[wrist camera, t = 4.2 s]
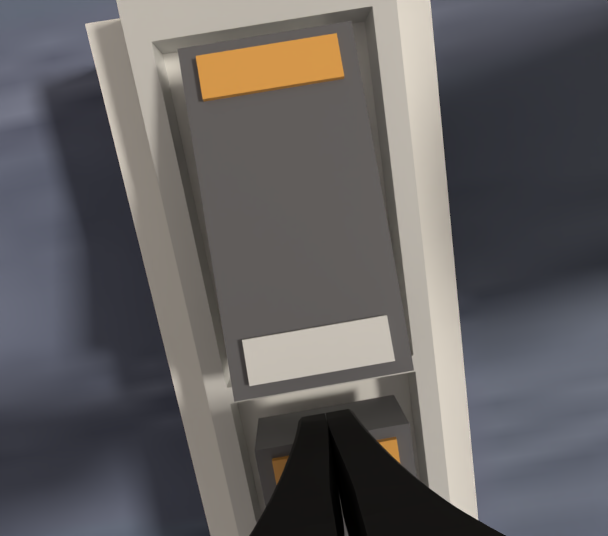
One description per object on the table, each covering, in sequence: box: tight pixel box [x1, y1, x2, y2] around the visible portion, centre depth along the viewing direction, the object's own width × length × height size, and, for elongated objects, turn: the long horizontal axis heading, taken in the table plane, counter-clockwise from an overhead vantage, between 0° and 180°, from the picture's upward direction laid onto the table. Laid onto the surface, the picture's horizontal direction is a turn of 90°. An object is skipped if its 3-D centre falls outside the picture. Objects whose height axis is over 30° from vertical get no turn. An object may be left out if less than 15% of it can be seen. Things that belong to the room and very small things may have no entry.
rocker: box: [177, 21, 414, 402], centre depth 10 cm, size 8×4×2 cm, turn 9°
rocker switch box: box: [85, 0, 478, 536], centre depth 13 cm, size 27×9×4 cm, turn 9°
